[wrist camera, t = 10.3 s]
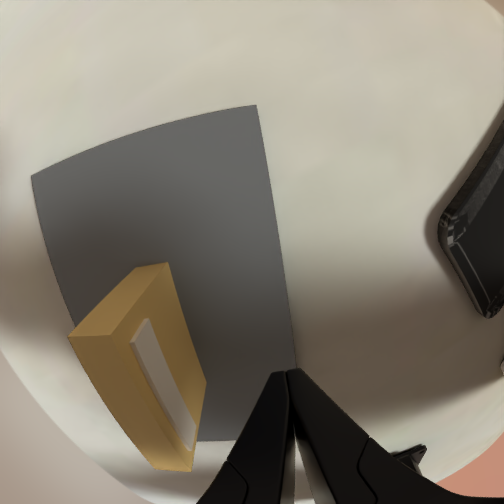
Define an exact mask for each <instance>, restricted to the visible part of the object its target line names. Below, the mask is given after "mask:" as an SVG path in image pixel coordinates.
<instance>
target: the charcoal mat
mask: <svg viewBox="0 0 504 504" xmlns="http://www.w3.org/2000/svg"><path fill="white" fill-rule="evenodd" d="M31 178H32V184H33V190H34V196H35V201H36V206H37V211H38V215H39V220H40V224H41V228H42V232H43V236H44V240H45V243H46V247H47V250H48V254H49V257H50V260H51V264H52V267H53V270H54V273H55V276H56V279H57V282H58V284H59V287H60V290H61V293H62V295H63V298H64V300H65V303H66V305H67V308H68V310H69V313H70V315H71V318H72V320H73V322H74V325H75V327H77V326H78V325H79V323H80V322H81V321H82V320H83V319H84V318H85V317H86V316H87V315H88V314H89V313H90V312H91V311H92V310H93V309H94V308H95V307H96V306H97V305H98V304H99V303H100V302H101V301H102V300H103V299H104V298H105V297H106V296H107V295H108V294H109V293H110V292H111V291H112V290H113V289H114V288H115V287H116V286H117V285H118V284H119V283H120V282H121V281H122V280H123V279H124V278H125V277H126V276H127V275H128V274H129V273H130V272H132V271H133V270H134V269H135V268H136V267H142V266H148V265H153V264H159V263H165V262H168V264H169V267H170V271H171V275H172V278H173V282H174V285H175V289H176V292H177V296H178V299H179V302H180V306H181V309H182V312H183V315H184V318H185V322H186V325H187V328H188V331H189V334H190V337H191V340H192V343H193V346H194V349H195V351H196V354H197V357H198V360H199V363H200V366H201V368H202V371H203V374H204V376H205V379H206V382H207V384H206V389H205V395H204V400H203V406H202V411H201V417H200V423H199V429H198V434H197V440H196V441H230V440H237V439H238V437H239V435H240V433H241V431H242V430H243V428H244V426H245V424H246V422H247V420H248V418H249V416H250V414H251V412H252V410H253V408H254V406H255V404H256V402H257V400H258V398H259V396H260V394H261V392H262V390H263V388H264V386H265V384H266V382H267V380H268V378H269V376H270V374H271V373H272V372H276V371H285V372H286V371H287V370H289V369H295V368H296V360H295V351H294V343H293V335H292V327H291V319H290V311H289V304H288V296H287V289H286V282H285V275H284V268H283V261H282V254H281V247H280V241H279V234H278V228H277V221H276V215H275V208H274V202H273V196H272V190H271V184H270V178H269V172H268V166H267V161H266V155H265V149H264V144H263V138H262V133H261V127H260V122H259V116H258V111H257V106H256V105H250V106H244V107H238V108H233V109H227V110H222V111H217V112H212V113H208V114H203V115H199V116H194V117H190V118H186V119H182V120H178V121H174V122H170V123H167V124H163V125H160V126H156V127H153V128H149V129H146V130H143V131H140V132H137V133H133V134H130V135H127V136H124V137H121V138H119V139H116V140H113V141H110V142H107V143H105V144H102V145H99V146H97V147H94V148H92V149H89V150H87V151H84V152H82V153H79V154H77V155H75V156H72V157H70V158H68V159H65V160H63V161H61V162H59V163H57V164H54V165H52V166H50V167H48V168H46V169H44V170H42V171H40V172H38V173H36V174H34V175H32V176H31ZM294 433H295V431H294Z"/></svg>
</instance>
